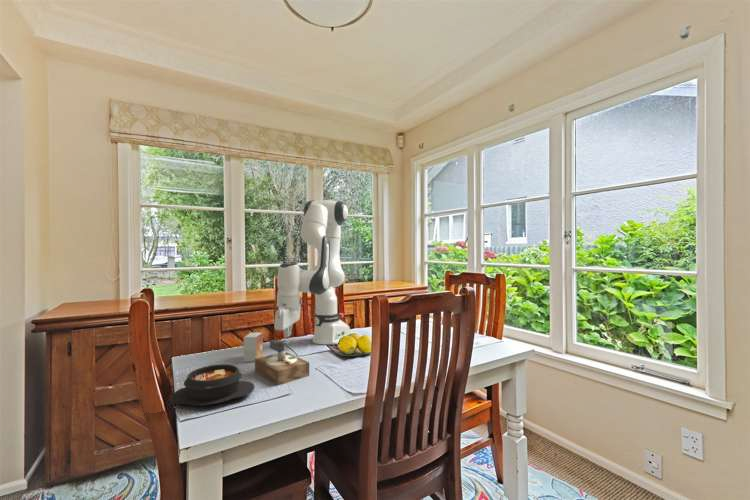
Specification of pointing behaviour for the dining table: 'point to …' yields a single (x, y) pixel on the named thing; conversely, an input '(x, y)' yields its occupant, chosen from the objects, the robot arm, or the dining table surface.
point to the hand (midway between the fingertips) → (287, 336)
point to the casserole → (212, 386)
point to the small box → (253, 346)
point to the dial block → (281, 368)
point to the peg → (279, 349)
